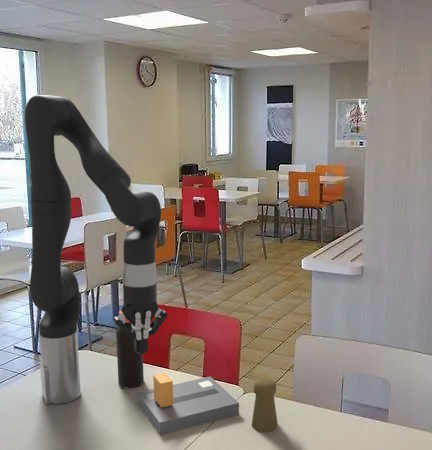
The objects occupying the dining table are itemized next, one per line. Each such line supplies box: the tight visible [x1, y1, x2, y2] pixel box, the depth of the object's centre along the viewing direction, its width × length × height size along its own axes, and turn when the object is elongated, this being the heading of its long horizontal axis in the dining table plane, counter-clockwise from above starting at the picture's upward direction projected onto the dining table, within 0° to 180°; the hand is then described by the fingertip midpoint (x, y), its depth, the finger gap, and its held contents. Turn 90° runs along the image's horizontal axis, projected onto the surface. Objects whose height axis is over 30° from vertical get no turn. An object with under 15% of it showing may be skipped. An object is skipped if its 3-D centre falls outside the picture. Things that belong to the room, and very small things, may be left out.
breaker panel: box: [136, 376, 240, 436], centre depth 139 cm, size 20×16×3 cm
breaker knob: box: [153, 372, 174, 408], centre depth 135 cm, size 3×5×6 cm, turn 26°
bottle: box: [115, 309, 145, 389], centre depth 151 cm, size 7×7×20 cm
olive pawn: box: [251, 377, 279, 433], centre depth 130 cm, size 6×6×11 cm
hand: (140, 353), depth 132 cm, fingers closed
